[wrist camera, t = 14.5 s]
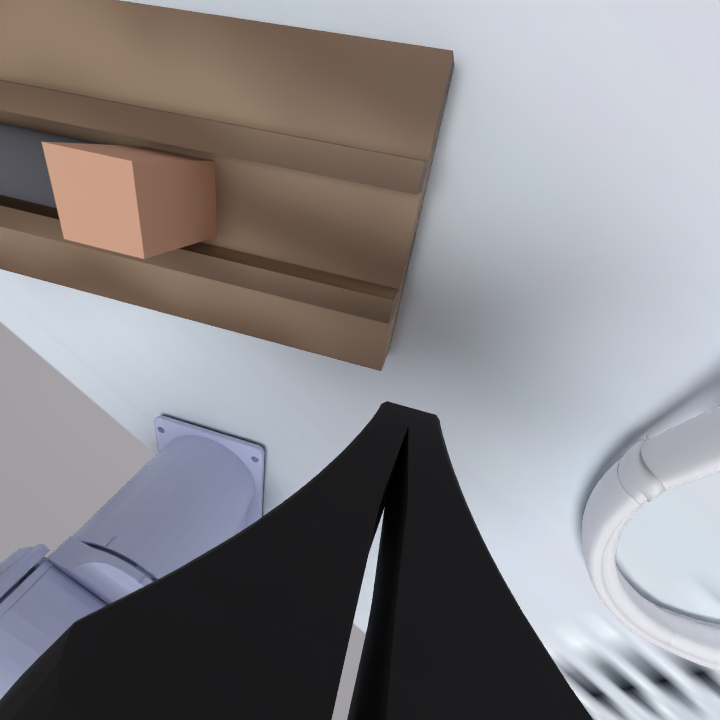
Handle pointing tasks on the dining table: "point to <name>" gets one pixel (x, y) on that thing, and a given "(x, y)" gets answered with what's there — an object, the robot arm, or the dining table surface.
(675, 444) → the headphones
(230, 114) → the channel deck
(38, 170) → the grey slider with block
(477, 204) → the dining table surface
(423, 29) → the dining table surface
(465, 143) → the dining table surface
